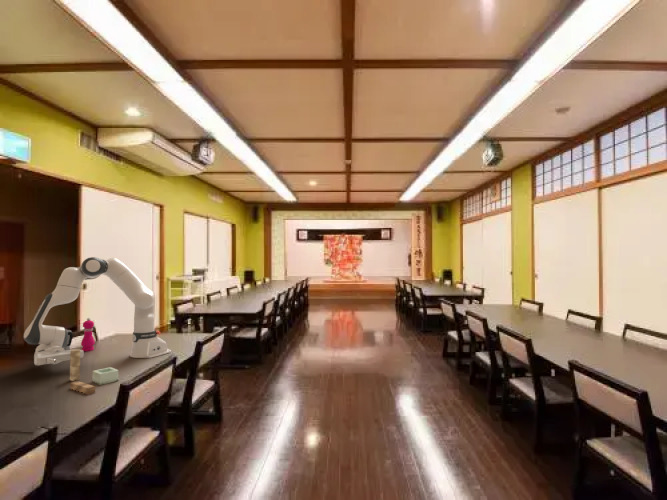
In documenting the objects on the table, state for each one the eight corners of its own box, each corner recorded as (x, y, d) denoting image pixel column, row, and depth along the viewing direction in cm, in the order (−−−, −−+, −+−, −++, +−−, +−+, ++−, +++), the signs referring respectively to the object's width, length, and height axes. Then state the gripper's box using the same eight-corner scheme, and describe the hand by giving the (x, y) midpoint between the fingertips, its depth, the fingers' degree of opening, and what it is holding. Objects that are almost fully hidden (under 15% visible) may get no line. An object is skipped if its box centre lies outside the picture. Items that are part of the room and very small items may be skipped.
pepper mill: (88, 351, 238) (88, 319, 238) (77, 351, 240) (78, 318, 240) (97, 349, 245) (98, 317, 246) (87, 348, 247) (88, 316, 247)
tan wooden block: (76, 378, 187) (77, 349, 187) (79, 379, 185) (80, 350, 185) (69, 380, 185) (70, 350, 185) (72, 381, 183) (73, 351, 183)
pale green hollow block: (110, 377, 189) (110, 367, 189) (118, 380, 185) (118, 370, 185) (92, 381, 183) (92, 370, 183) (100, 385, 178) (100, 374, 178)
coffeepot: (45, 358, 221) (46, 326, 222) (62, 354, 230) (63, 324, 230) (63, 361, 215) (64, 329, 216) (80, 357, 224) (80, 326, 224)
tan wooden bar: (70, 389, 173) (70, 382, 173) (77, 387, 175) (77, 380, 175) (87, 395, 166) (88, 388, 166) (95, 393, 168) (95, 386, 168)
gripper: (77, 357, 207) (88, 361, 199) (30, 365, 191) (40, 370, 183) (77, 345, 207) (89, 349, 199) (30, 352, 191) (41, 356, 183)
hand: (65, 359), depth 191 cm, fingers open, 8 cm apart
